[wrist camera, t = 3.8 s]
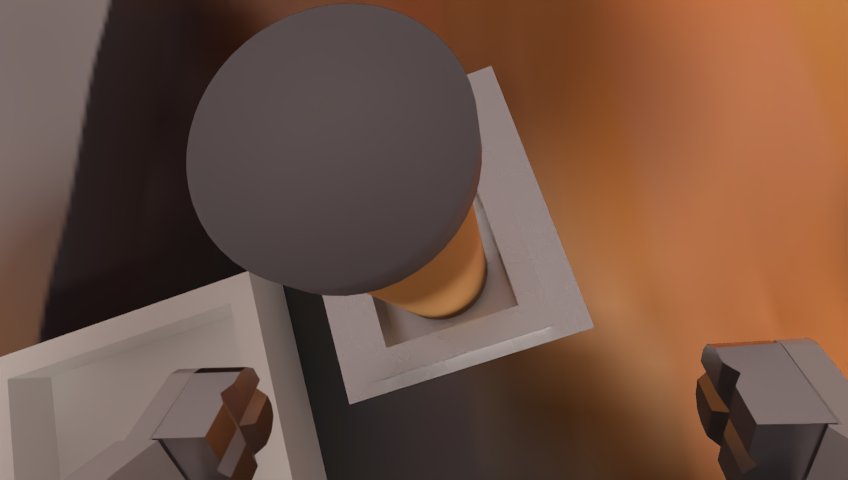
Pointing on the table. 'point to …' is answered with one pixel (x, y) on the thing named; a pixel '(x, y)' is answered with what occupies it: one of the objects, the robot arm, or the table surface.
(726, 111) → the table surface
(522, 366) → the table surface
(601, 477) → the table surface
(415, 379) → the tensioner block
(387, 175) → the lock pin
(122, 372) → the tray
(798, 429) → the robot arm
